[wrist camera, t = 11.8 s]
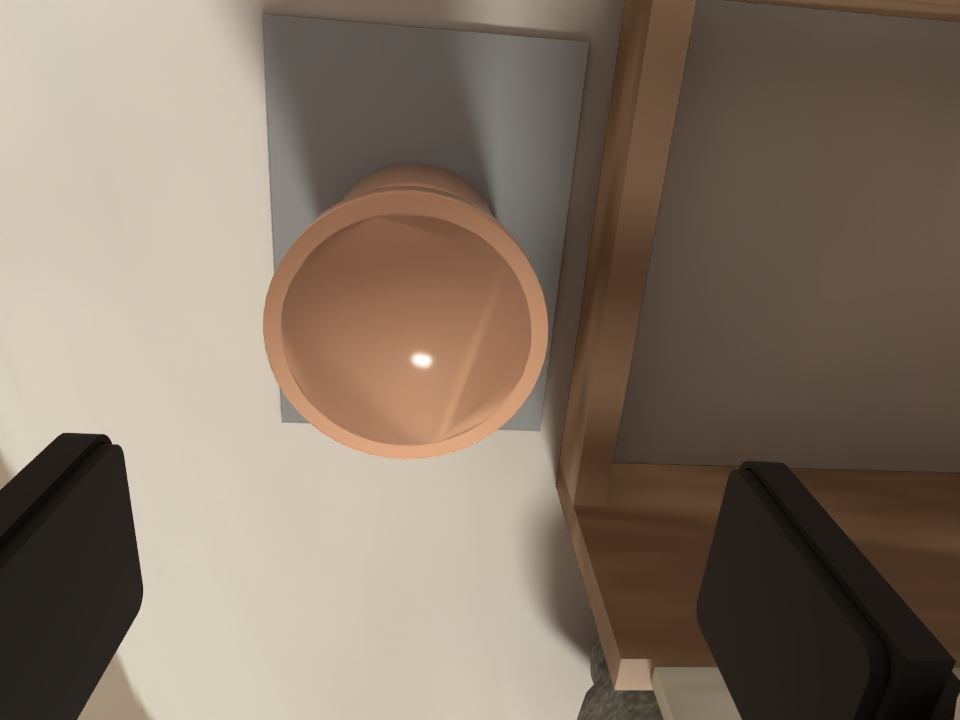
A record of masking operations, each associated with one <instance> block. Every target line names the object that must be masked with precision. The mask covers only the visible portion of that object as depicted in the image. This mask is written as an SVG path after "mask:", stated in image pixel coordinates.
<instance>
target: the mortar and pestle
mask: <svg viewBox="0 0 960 720" xmlns="http://www.w3.org/2000/svg"><path fill="white" fill-rule="evenodd" d="M591 677H592V680H593V683H594V685H593V686H592V687H591V688H590V689H589V690H588V691H587V693H586V695H585V698H584V701H583V704H582V706H581V709H580V712H579V715H578V718H577V720H664V719H663V716H662V713H661V710H660V707H659V705H658V702H657V699H656V696H655V693H654V690H614V687H613V683H612V680H611V676H610V673H609V669H608V666H607V662H606V659H605V655H604V652H603V648H602V645H601V641H600V639H599V640H598V641H597V642H596V643H595V644H594V645H593V646H592V668H591Z"/></svg>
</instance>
